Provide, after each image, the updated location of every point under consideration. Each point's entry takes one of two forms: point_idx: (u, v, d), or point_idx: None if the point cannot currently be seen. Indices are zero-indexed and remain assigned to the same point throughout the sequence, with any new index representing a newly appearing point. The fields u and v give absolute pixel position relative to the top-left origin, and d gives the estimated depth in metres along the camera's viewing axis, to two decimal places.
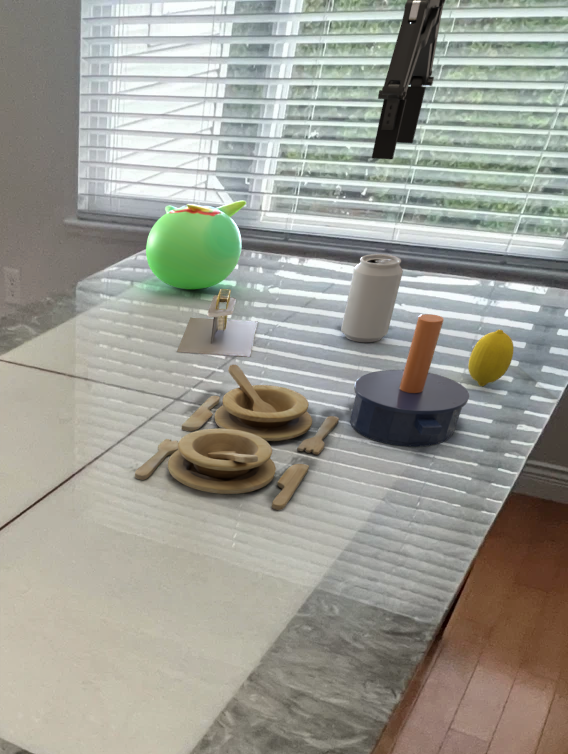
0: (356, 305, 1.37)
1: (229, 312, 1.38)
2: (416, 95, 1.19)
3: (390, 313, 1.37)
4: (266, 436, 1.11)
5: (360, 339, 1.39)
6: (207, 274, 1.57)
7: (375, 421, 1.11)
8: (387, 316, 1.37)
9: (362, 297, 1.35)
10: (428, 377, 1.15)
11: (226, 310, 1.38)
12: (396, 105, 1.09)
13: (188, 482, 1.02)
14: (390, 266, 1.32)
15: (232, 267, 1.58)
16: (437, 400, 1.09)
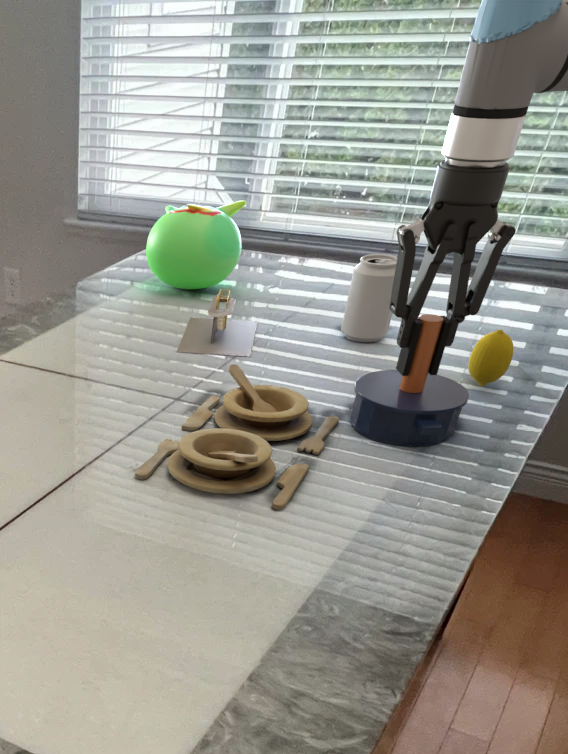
0: (356, 305, 1.37)
1: (229, 312, 1.38)
2: (441, 328, 1.06)
3: (390, 313, 1.37)
4: (266, 436, 1.11)
5: (360, 339, 1.39)
6: (207, 274, 1.57)
7: (375, 421, 1.11)
8: (387, 316, 1.37)
9: (362, 297, 1.35)
10: (428, 377, 1.15)
11: (226, 310, 1.38)
12: (404, 325, 1.06)
13: (188, 482, 1.02)
14: (390, 266, 1.32)
15: (232, 267, 1.58)
16: (437, 400, 1.09)
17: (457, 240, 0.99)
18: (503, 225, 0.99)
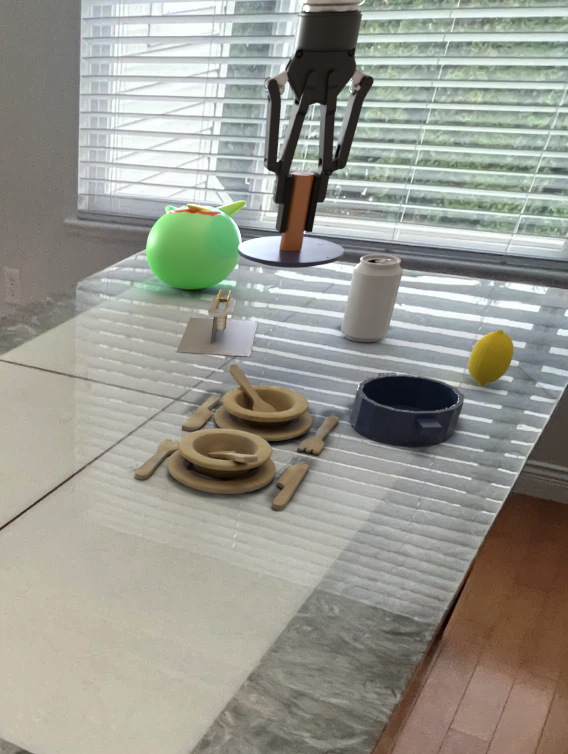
0: (356, 305, 1.37)
1: (229, 312, 1.38)
2: (313, 183, 1.12)
3: (390, 313, 1.37)
4: (266, 436, 1.11)
5: (360, 339, 1.39)
6: (207, 274, 1.57)
7: (375, 421, 1.11)
8: (387, 316, 1.37)
9: (362, 297, 1.35)
10: (309, 240, 1.21)
11: (226, 310, 1.38)
12: (277, 180, 1.12)
13: (188, 482, 1.02)
14: (390, 266, 1.32)
15: (232, 267, 1.58)
16: (312, 255, 1.15)
17: (319, 90, 1.05)
18: (362, 75, 1.04)
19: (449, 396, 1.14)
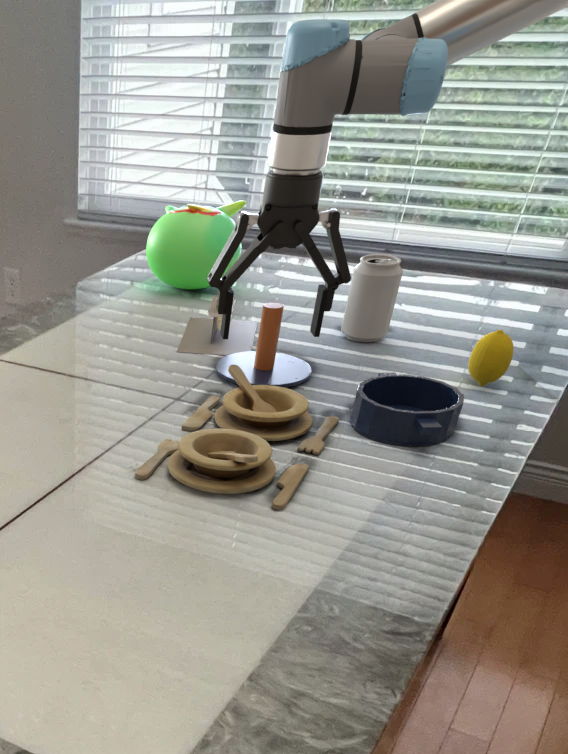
0: (356, 305, 1.37)
1: None
2: (320, 294, 1.22)
3: (390, 313, 1.37)
4: (266, 436, 1.11)
5: (360, 339, 1.39)
6: (207, 274, 1.57)
7: (375, 421, 1.11)
8: (387, 316, 1.37)
9: (362, 297, 1.35)
10: (281, 357, 1.33)
11: None
12: (219, 294, 1.22)
13: (188, 482, 1.02)
14: (390, 266, 1.32)
15: None
16: (282, 376, 1.27)
17: (287, 237, 1.17)
18: (328, 213, 1.16)
19: (449, 396, 1.14)
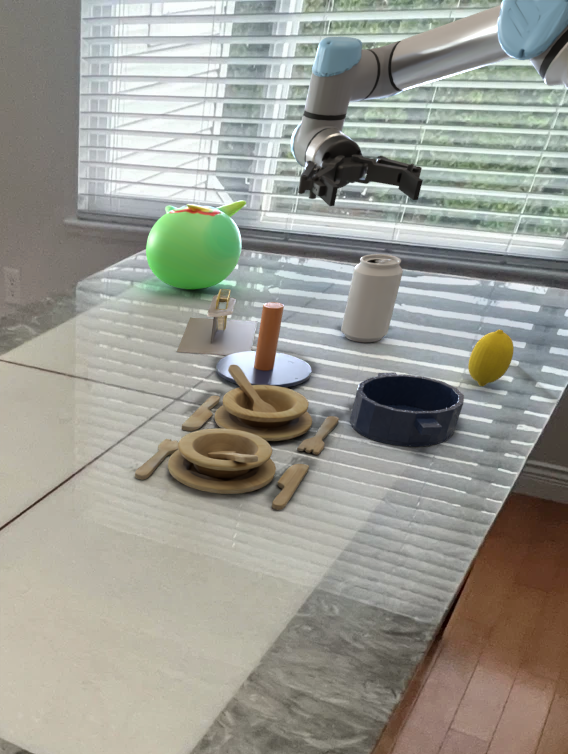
0: (356, 305, 1.37)
1: (229, 312, 1.38)
2: (403, 177, 1.38)
3: (390, 313, 1.37)
4: (266, 436, 1.11)
5: (360, 339, 1.39)
6: (207, 274, 1.57)
7: (375, 421, 1.11)
8: (387, 316, 1.37)
9: (362, 297, 1.35)
10: (281, 357, 1.33)
11: (226, 310, 1.38)
12: (314, 182, 1.38)
13: (188, 482, 1.02)
14: (390, 266, 1.32)
15: (232, 267, 1.58)
16: (282, 376, 1.27)
17: (350, 163, 1.43)
18: None
19: (449, 396, 1.14)
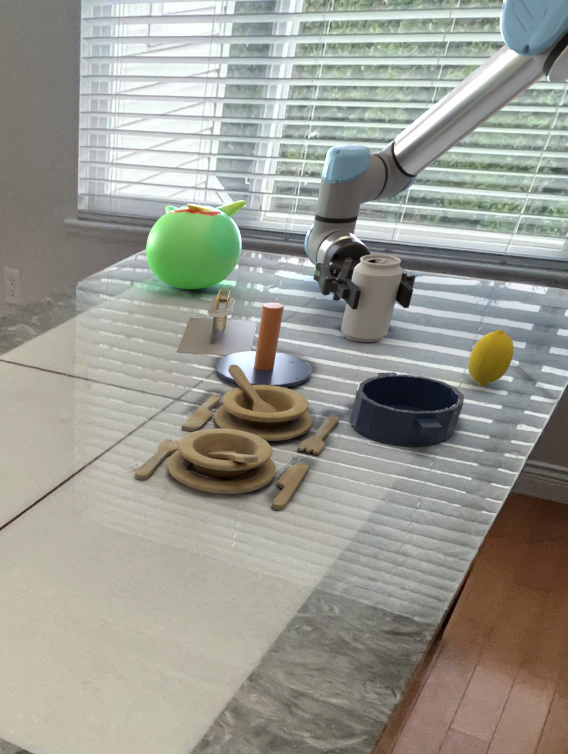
0: None
1: (229, 312, 1.38)
2: None
3: (390, 313, 1.37)
4: (266, 436, 1.11)
5: (360, 339, 1.39)
6: (207, 274, 1.57)
7: (375, 421, 1.11)
8: (387, 316, 1.37)
9: (362, 297, 1.35)
10: (281, 357, 1.33)
11: (226, 310, 1.38)
12: (338, 285, 1.38)
13: (188, 482, 1.02)
14: (390, 266, 1.32)
15: (232, 267, 1.58)
16: (282, 376, 1.27)
17: None
18: None
19: (449, 396, 1.14)
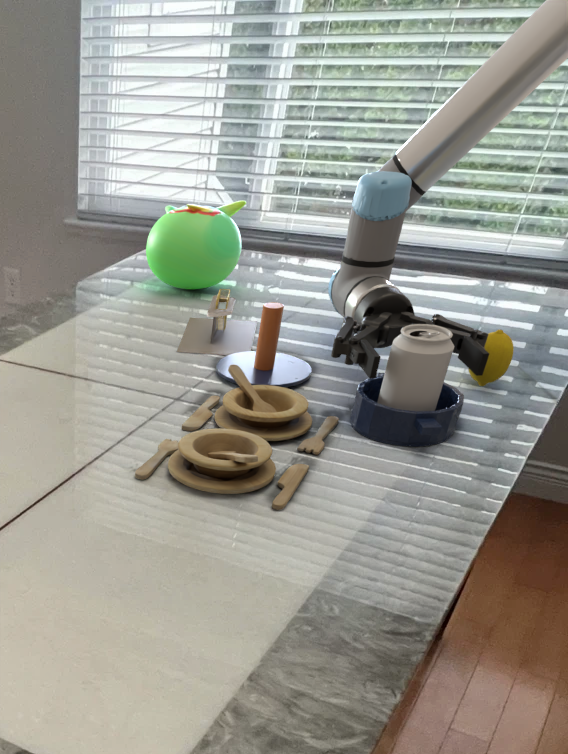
0: (395, 387, 1.10)
1: (229, 312, 1.38)
2: (464, 345, 1.11)
3: (437, 397, 1.10)
4: (266, 436, 1.11)
5: None
6: (207, 274, 1.57)
7: (375, 421, 1.11)
8: (433, 400, 1.10)
9: (403, 378, 1.09)
10: (281, 357, 1.33)
11: (226, 310, 1.38)
12: (351, 346, 1.11)
13: (188, 482, 1.02)
14: (439, 342, 1.05)
15: (232, 267, 1.58)
16: (282, 376, 1.27)
17: (398, 323, 1.16)
18: None
19: (449, 396, 1.14)
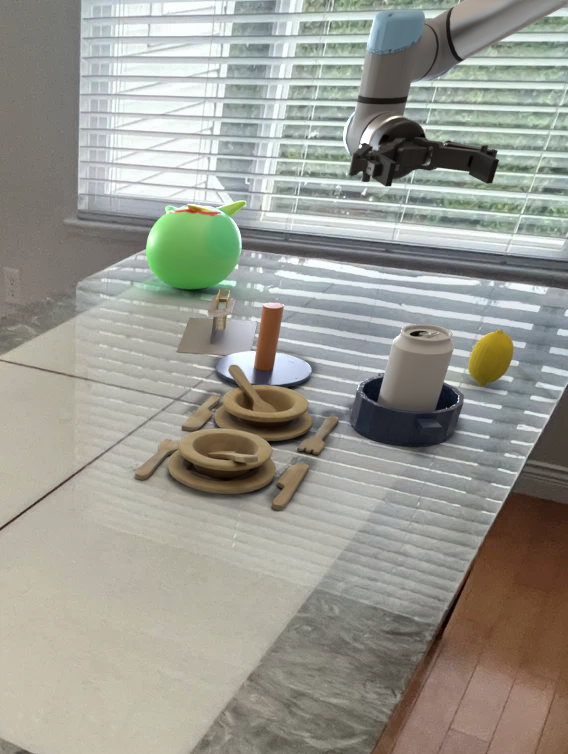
0: (395, 387, 1.10)
1: (229, 312, 1.38)
2: (475, 159, 1.17)
3: (437, 397, 1.10)
4: (266, 436, 1.11)
5: None
6: (207, 274, 1.57)
7: (375, 421, 1.11)
8: (433, 400, 1.10)
9: (403, 378, 1.09)
10: (281, 357, 1.33)
11: (226, 310, 1.38)
12: (368, 161, 1.17)
13: (188, 482, 1.02)
14: (439, 342, 1.05)
15: (232, 267, 1.58)
16: (282, 376, 1.27)
17: (412, 146, 1.22)
18: None
19: (449, 396, 1.14)
